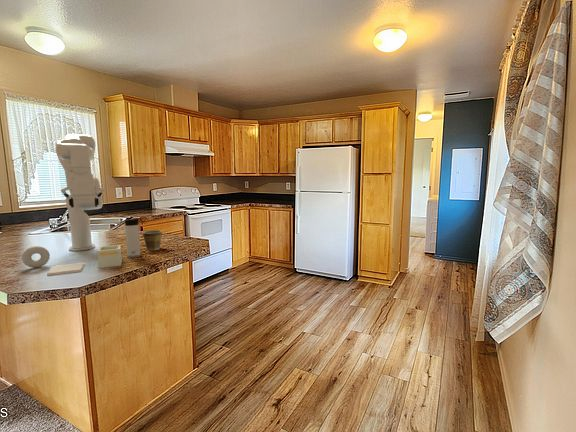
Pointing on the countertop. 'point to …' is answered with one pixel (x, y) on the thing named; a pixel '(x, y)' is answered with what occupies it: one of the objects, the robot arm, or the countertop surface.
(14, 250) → the countertop surface
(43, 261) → the donut
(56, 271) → the beige square board
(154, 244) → the ceramic cup
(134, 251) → the travel mug
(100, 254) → the cream lidded box
